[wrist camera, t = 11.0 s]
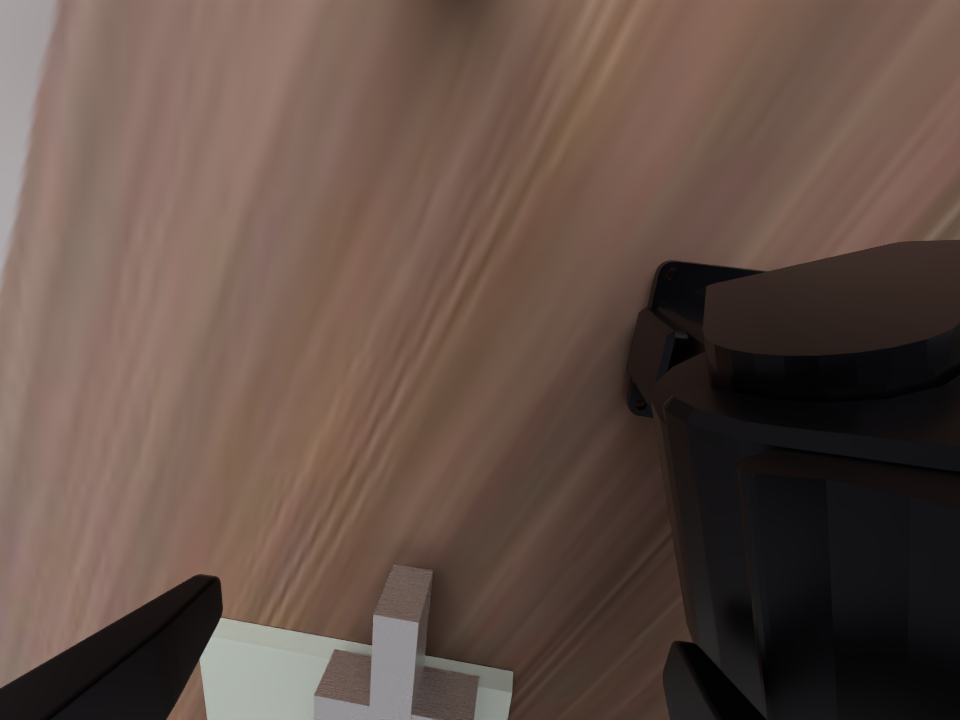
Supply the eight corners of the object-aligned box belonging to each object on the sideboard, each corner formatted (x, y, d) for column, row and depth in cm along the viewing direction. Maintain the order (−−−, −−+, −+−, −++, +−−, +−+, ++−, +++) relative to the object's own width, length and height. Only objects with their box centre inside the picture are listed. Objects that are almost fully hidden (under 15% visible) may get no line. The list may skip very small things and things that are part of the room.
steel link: (335, 553, 22) (306, 602, 20) (493, 580, 22) (487, 635, 19) (334, 746, 27) (310, 808, 24) (464, 773, 26) (456, 840, 24)
